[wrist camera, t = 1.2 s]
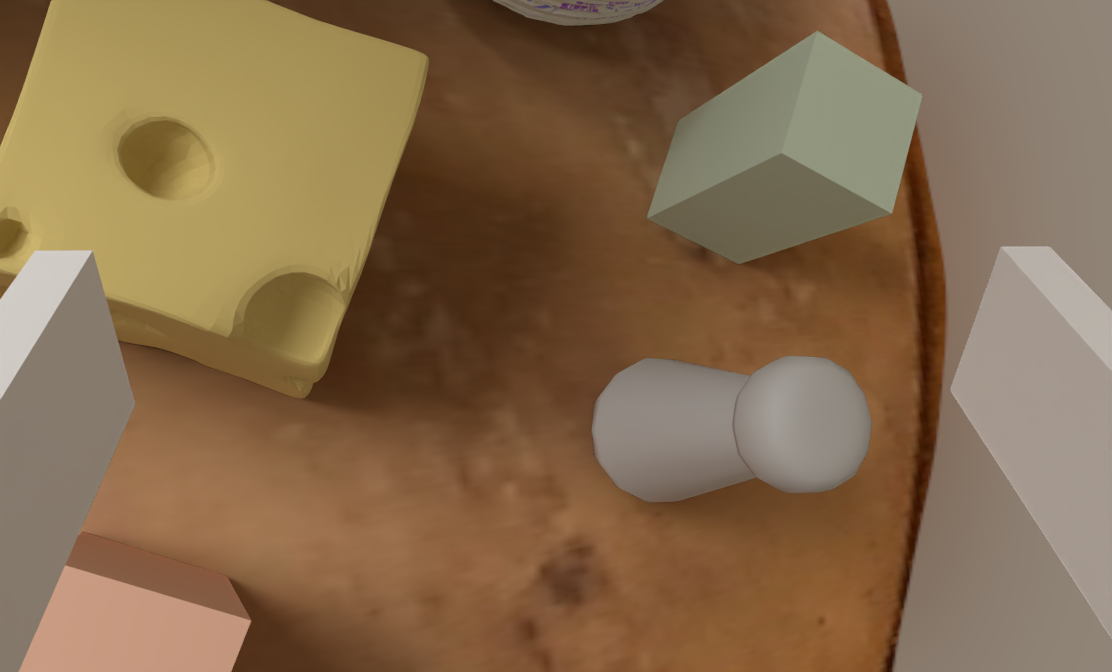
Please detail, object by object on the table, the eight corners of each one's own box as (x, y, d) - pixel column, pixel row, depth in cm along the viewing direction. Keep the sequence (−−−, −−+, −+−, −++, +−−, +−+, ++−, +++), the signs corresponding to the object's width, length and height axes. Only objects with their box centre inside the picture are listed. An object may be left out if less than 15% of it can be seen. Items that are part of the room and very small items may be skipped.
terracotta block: (15, 679, 31) (-44, 772, 22) (82, 531, 33) (52, 561, 23) (168, 719, 33) (171, 821, 24) (226, 576, 34) (251, 620, 25)
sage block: (646, 218, 42) (781, 153, 33) (678, 120, 43) (817, 30, 34) (738, 264, 44) (891, 213, 35) (767, 168, 45) (922, 95, 36)
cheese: (299, 402, 36) (347, 384, 27) (-17, 314, 32) (-87, 258, 23) (375, 149, 38) (444, 52, 29) (88, 40, 34) (62, -110, 25)
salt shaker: (586, 348, 40) (765, 303, 28) (702, 380, 42) (915, 351, 30) (559, 486, 39) (734, 499, 27) (680, 512, 41) (892, 536, 29)
